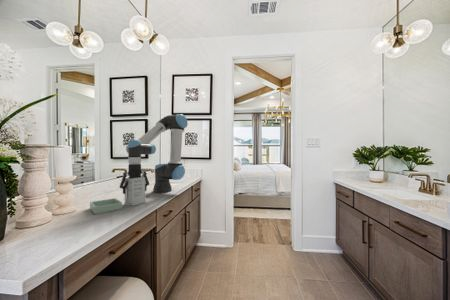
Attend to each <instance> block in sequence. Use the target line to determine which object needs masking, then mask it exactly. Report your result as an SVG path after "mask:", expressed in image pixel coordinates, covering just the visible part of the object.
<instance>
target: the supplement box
mask: <svg viewBox="0 0 450 300" xmlns="http://www.w3.org/2000/svg"><path fill="white" fill-rule="evenodd" d="M127 181H128V185H127V187H126V189H127V199H125V198H124V205H126V206H127V205H128V206H132V207H133V206H139V205H141V204H145V203H146V191H145V183H146V182H145V177H144V176H141V178H139V177H138V178H132V179H128V177H126V179H125V182H124V184H125V183H126V182H127Z"/></svg>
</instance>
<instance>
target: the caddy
mask: <svg viewBox="0 0 450 300" xmlns="http://www.w3.org/2000/svg"><path fill="white" fill-rule="evenodd" d="M89 208H90V209H89V210H90V211H91V212H92V214H93V215H98V214H99V215H100V214H104V213H109V212H114V211H120V210H123V202H122V201H120V200H119V199H117V198H116V197H115V198H109V199H108V198H107V199H100V200H95V201H93V200H92V201H90V202H89Z"/></svg>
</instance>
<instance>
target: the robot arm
mask: <svg viewBox="0 0 450 300" xmlns="http://www.w3.org/2000/svg"><path fill="white" fill-rule="evenodd" d="M187 127H188V119H187V117H186V116H185V115H184V114H182V113H181V114H179V113H177V114H171V115H165V116H164V117H163V118H161V119H159V120H158V121H157V122H155V125H154V126H152V128H150V129H149V130H148V131H147V132H145V133H144V134H143V135H142V136H141V137H139V138H138V139H131V140H128V144H127V145H126V148H125V149H126V153H127V154H128V156H127V157H128V158H127V159H128V166H127V167H128V169H127V170H128V171H127V172H122V178H121V181H120V185H119V188H120V189H122V194H123V195H124V200H125V199H127V189H126V187H127V185H128V181H127V182H126V183H125V184H124V182H125V179H126V178H128V179H132V178H138V177H139V178H141V177H145V192H147V186H149V185H150V182H149V178H148V176H147V171H146V170H142V164H141V163H142V155H154V154H155V153H156V151H157V150H156V149H157V147H156V145H155V144H154V143H151V142H153V141H154V140H155V139H156V138H157V137H159V136H160V135H161V134H162V133H164V132H166V131H168V130H170V132H171V138H170V139H171V140H170V153H169V154H170V156H169V161H168V162H167V163H160V164H156V165H155V166H154V184H153V188H152V193H158V194H160V193H161V192H163V193H168V192H167V191H169V192H171V191H170V190H173V189H172V185H171V183H170V182H171V181H170V180H175V181H177V180H178V181H180V180H181V179H182V178H184V177H185V174H186V169H185V166H184V165H183V162H182V161H181V160H182V159H181V158H182V146H183V145H182V143H183V133H184V132H185V129H186V128H187ZM141 174H142V175H143V176H142V175H141ZM127 176H128V177H127Z"/></svg>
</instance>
